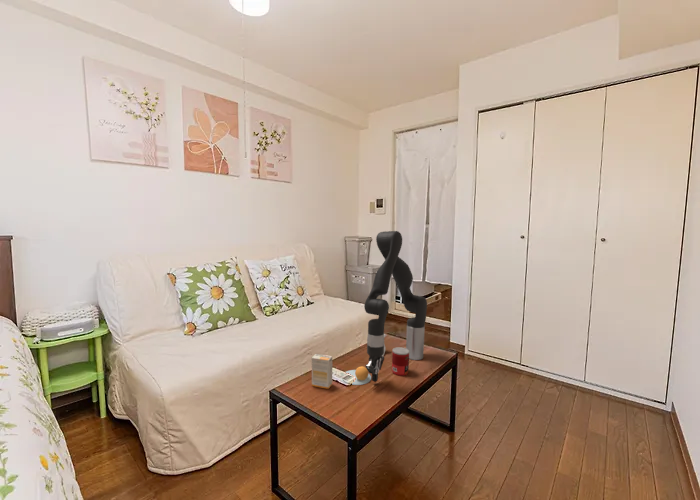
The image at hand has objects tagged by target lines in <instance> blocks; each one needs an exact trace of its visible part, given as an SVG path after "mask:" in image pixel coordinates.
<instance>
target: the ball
mask: <svg viewBox="0 0 700 500" xmlns="http://www.w3.org/2000/svg"><path fill="white" fill-rule="evenodd" d="M355 370H356V371H355V375H356V377H357V379H359V380H365V379H366V378H367V377H368V373H369V372H368V370H367V368H366V367H365V366H364V365H363V366H358V367H357V368H356V369H355Z"/></svg>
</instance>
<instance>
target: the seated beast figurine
mask: <svg viewBox="0 0 700 500" xmlns="http://www.w3.org/2000/svg"><path fill="white" fill-rule="evenodd" d="M386 337H387V334H385V333H384V339H385V338H386ZM386 349H387V348H386V345H385V343H384V354H383V355H382V356H383V357H385V352H386Z"/></svg>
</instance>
